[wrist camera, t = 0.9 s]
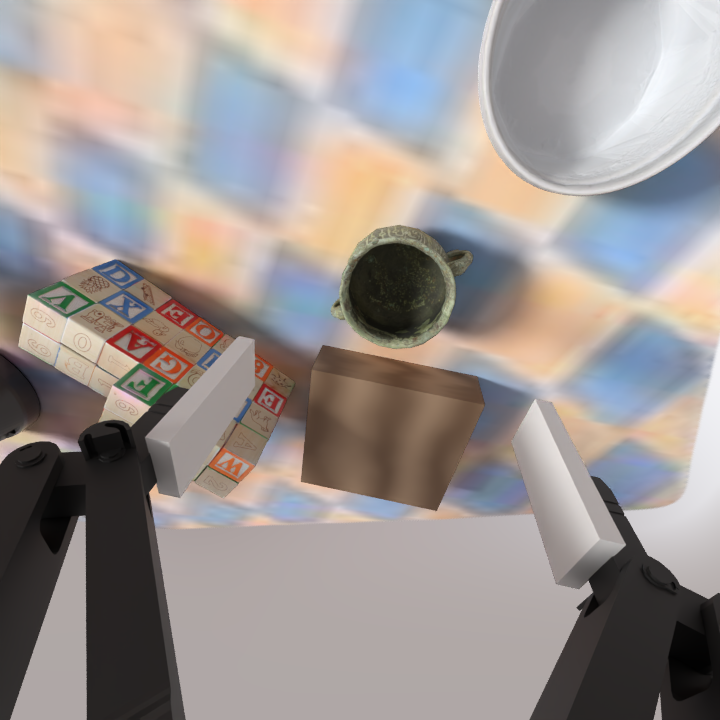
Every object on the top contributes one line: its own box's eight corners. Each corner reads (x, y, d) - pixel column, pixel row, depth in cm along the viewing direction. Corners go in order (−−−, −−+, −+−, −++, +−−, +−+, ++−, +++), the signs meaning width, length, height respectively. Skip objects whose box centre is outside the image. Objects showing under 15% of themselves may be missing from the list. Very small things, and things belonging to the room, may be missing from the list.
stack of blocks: (100, 302, 37) (-24, 365, 26) (116, 256, 34) (-17, 307, 23) (270, 412, 42) (223, 501, 31) (298, 382, 39) (255, 469, 28)
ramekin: (441, -3, 21) (451, -57, 16) (702, -157, 17) (848, -311, 11) (488, 212, 27) (508, 231, 21) (691, 134, 23) (784, 132, 17)
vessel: (359, 334, 34) (349, 369, 29) (316, 251, 31) (296, 274, 25) (481, 290, 31) (495, 321, 25) (450, 189, 27) (459, 200, 21)
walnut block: (311, 449, 45) (300, 481, 40) (323, 343, 36) (311, 369, 32) (434, 475, 44) (436, 510, 40) (476, 374, 35) (484, 405, 31)
